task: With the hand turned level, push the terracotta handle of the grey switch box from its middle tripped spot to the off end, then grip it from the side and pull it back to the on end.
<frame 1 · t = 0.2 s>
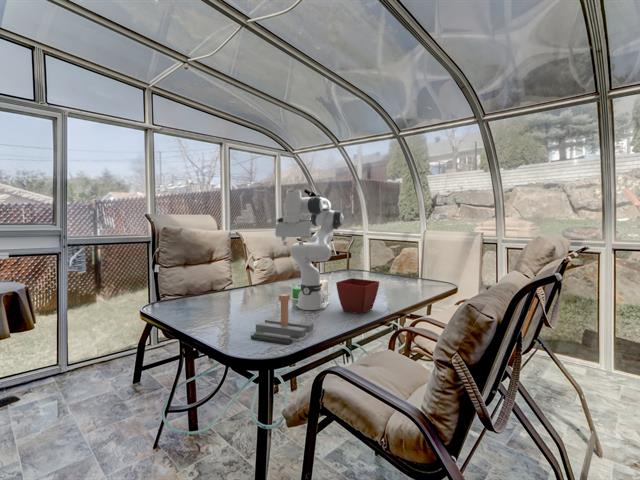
hand: (293, 245, 185), 39 cm above the table, tool pointing down, fingers open, 8 cm apart
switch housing: (284, 332, 162), on the table
twin grey rods: (272, 339, 152), on the table
plant pot: (357, 310, 202), on the table
breaker handle: (284, 312, 162), point 10 cm above the table, slide at 0.0 cm
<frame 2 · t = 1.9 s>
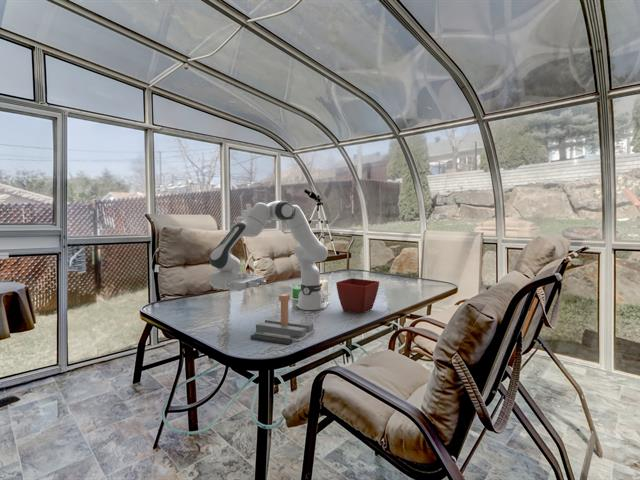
hand: (262, 283, 165), 22 cm above the table, tool horizontal, fingers open, 5 cm apart
nothing on the table moved.
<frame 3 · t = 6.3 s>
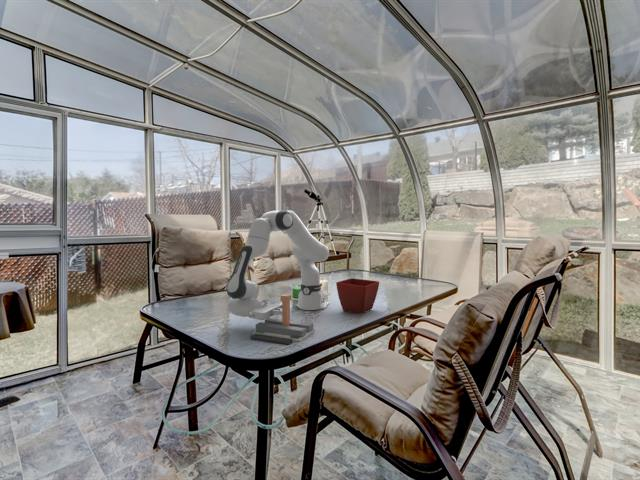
hand: (283, 312, 162), 9 cm above the table, tool horizontal, fingers closed, pressing on breaker handle
breaker handle: (286, 312, 161), point 10 cm above the table, slide at 0.8 cm, touching gripper
everything else where it was.
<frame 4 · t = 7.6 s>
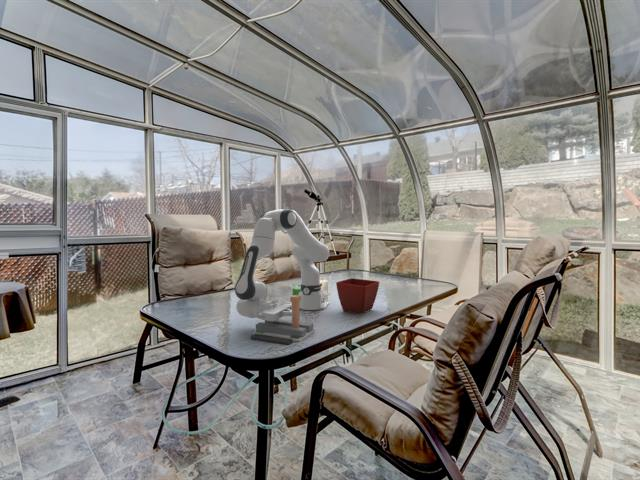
hand: (293, 313, 160), 9 cm above the table, tool horizontal, fingers closed, pressing on breaker handle
breaker handle: (295, 313, 159), point 10 cm above the table, slide at 5.8 cm, touching gripper
everything else where it was.
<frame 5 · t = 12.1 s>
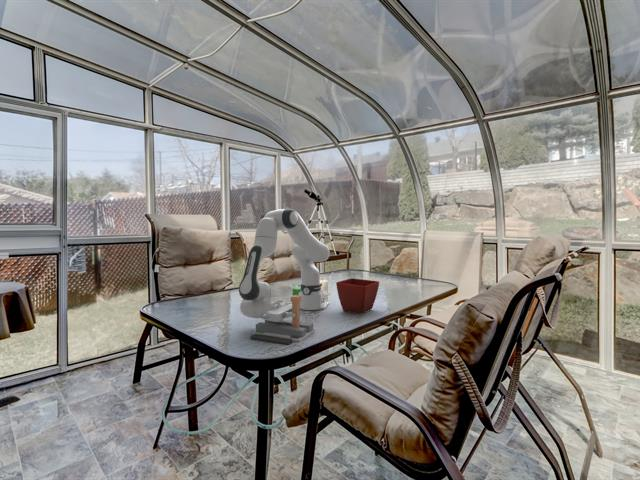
hand: (297, 313, 159), 10 cm above the table, tool horizontal, fingers closed on breaker handle, 3 cm apart
breaker handle: (296, 313, 159), point 10 cm above the table, slide at 6.0 cm, touching gripper
everything else where it was.
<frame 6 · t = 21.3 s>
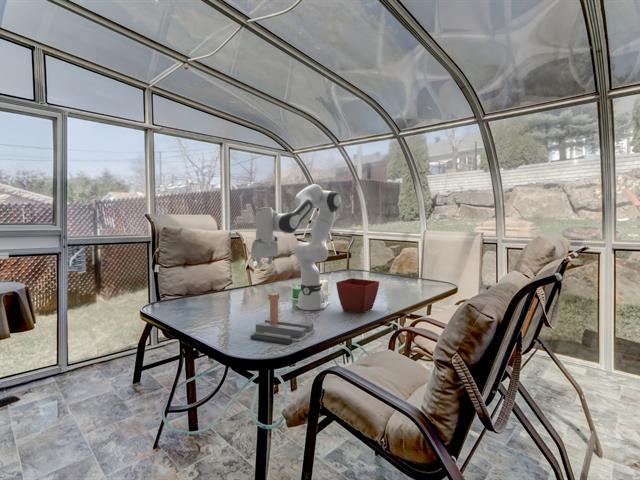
hand: (264, 265, 178), 29 cm above the table, tool pointing down, fingers open, 8 cm apart
breaker handle: (274, 311, 164), point 10 cm above the table, slide at -5.7 cm
everything else where it was.
at the end: breaker handle slide at -5.7 cm; the gripper is holding nothing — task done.
